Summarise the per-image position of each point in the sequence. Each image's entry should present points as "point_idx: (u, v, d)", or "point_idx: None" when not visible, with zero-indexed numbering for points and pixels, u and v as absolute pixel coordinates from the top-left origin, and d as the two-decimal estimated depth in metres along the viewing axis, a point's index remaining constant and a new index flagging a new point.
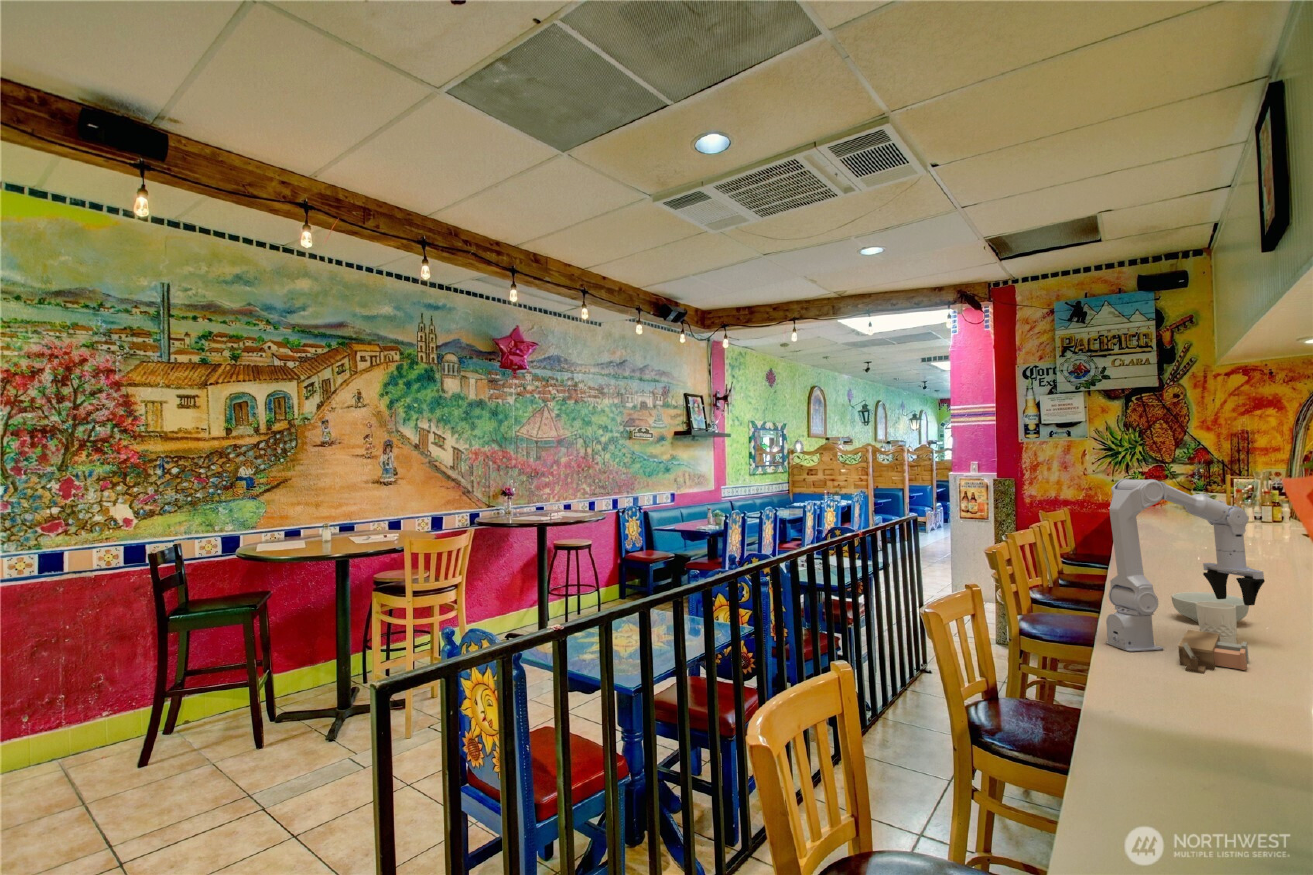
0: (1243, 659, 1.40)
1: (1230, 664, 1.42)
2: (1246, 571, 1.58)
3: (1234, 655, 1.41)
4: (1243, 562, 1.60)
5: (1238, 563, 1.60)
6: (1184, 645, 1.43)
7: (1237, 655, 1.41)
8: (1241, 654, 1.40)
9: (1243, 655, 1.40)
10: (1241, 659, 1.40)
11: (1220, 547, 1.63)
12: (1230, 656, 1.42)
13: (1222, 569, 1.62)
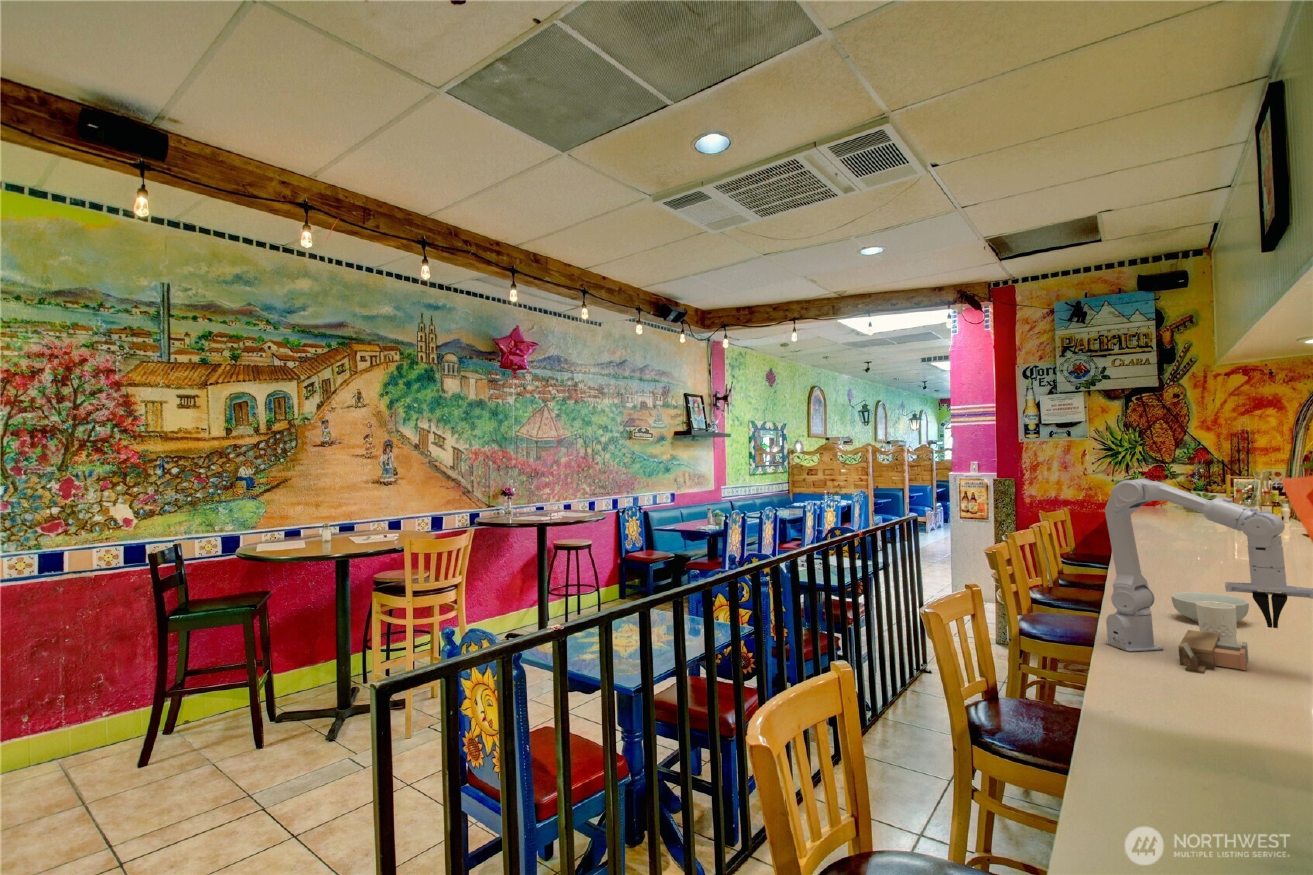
0: (1243, 659, 1.40)
1: (1230, 664, 1.42)
2: (1301, 590, 1.34)
3: (1234, 655, 1.41)
4: (1285, 579, 1.37)
5: (1285, 581, 1.36)
6: (1184, 645, 1.43)
7: (1237, 655, 1.41)
8: (1241, 654, 1.40)
9: (1243, 655, 1.40)
10: (1241, 659, 1.40)
11: None
12: (1230, 656, 1.42)
13: (1270, 590, 1.36)
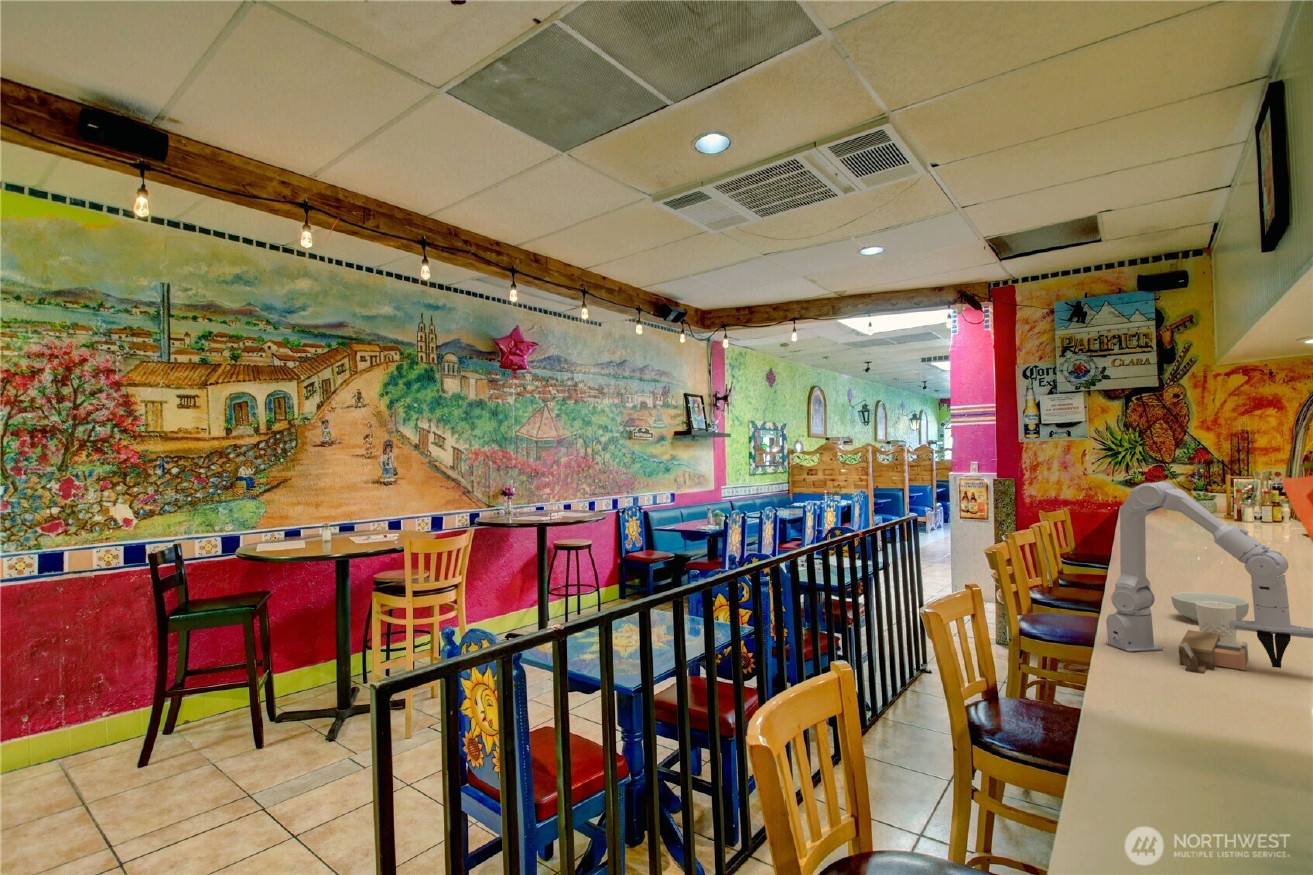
0: (1243, 659, 1.40)
1: (1230, 664, 1.42)
2: (1305, 631, 1.33)
3: (1234, 655, 1.41)
4: (1289, 618, 1.36)
5: (1289, 621, 1.36)
6: (1184, 645, 1.43)
7: (1237, 655, 1.41)
8: (1241, 654, 1.40)
9: (1243, 655, 1.40)
10: (1241, 659, 1.40)
11: None
12: (1230, 656, 1.42)
13: (1274, 630, 1.36)
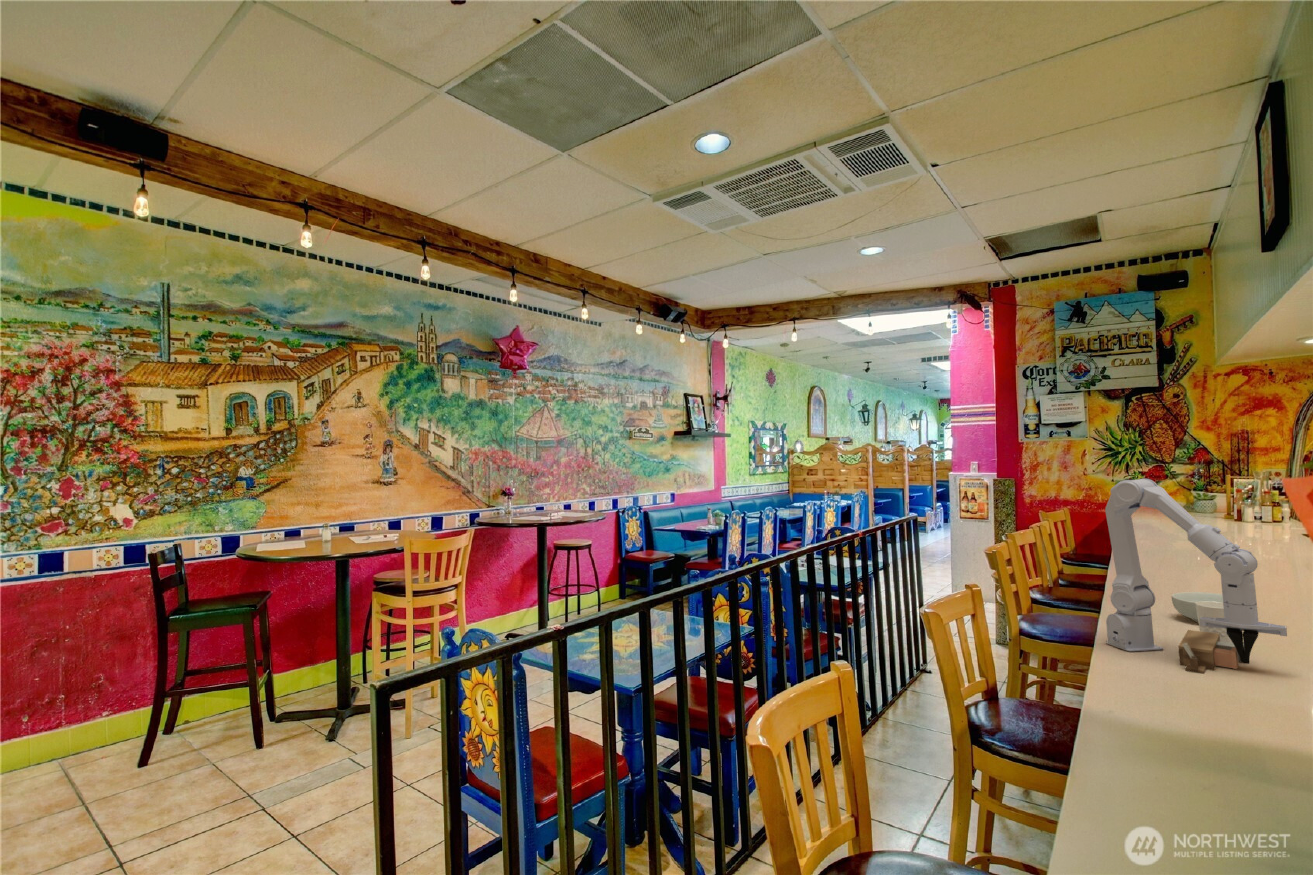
0: (1234, 658, 1.41)
1: (1221, 663, 1.43)
2: (1272, 627, 1.37)
3: (1225, 654, 1.42)
4: (1257, 615, 1.40)
5: (1257, 618, 1.39)
6: (1184, 645, 1.43)
7: (1228, 654, 1.42)
8: (1232, 653, 1.41)
9: (1234, 654, 1.41)
10: (1232, 658, 1.41)
11: None
12: (1221, 655, 1.43)
13: (1242, 626, 1.39)
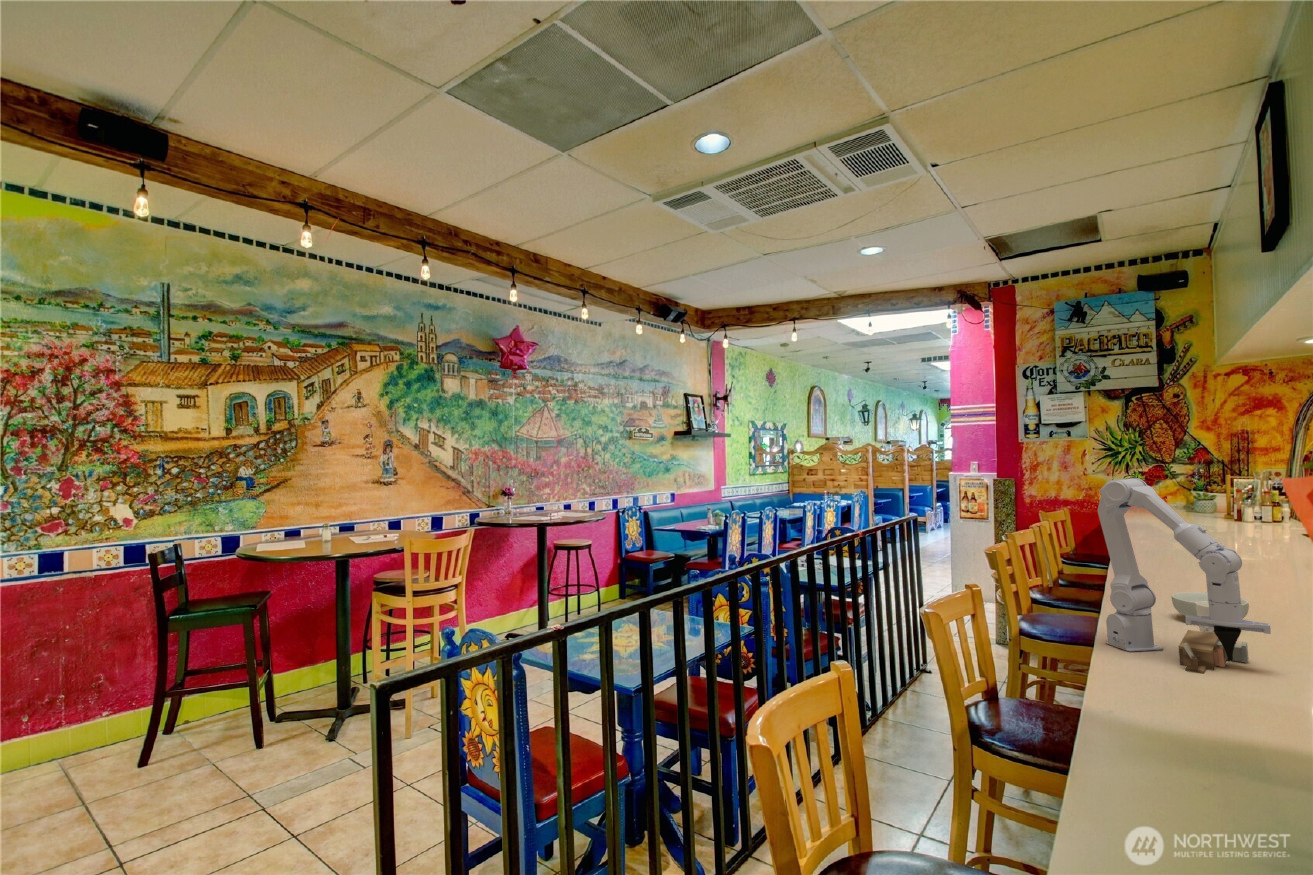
0: (1222, 656, 1.43)
1: None
2: (1256, 625, 1.39)
3: None
4: None
5: (1241, 616, 1.41)
6: (1184, 645, 1.43)
7: (1216, 652, 1.44)
8: (1220, 651, 1.43)
9: (1222, 652, 1.43)
10: (1220, 656, 1.43)
11: None
12: None
13: (1227, 624, 1.41)
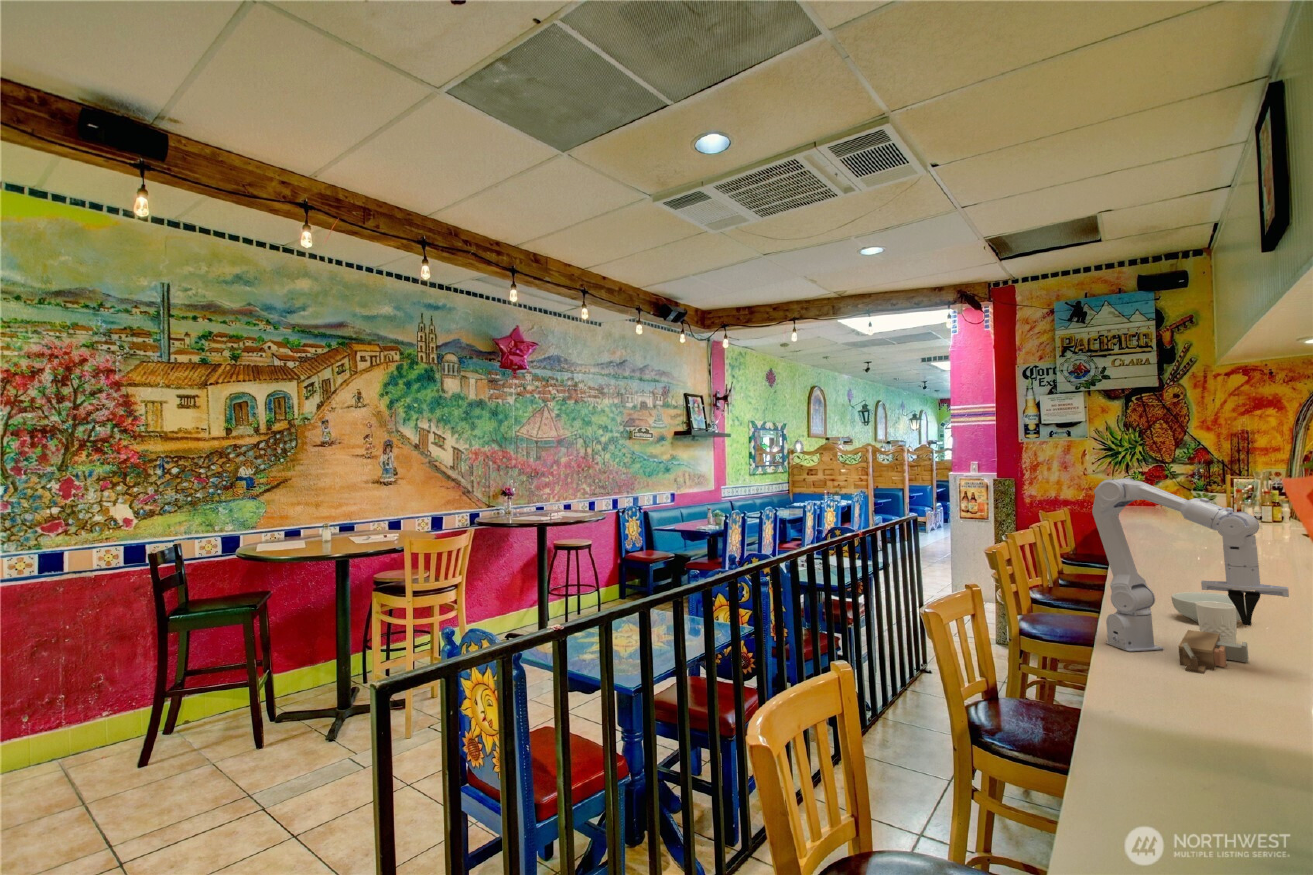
0: (1222, 656, 1.42)
1: None
2: (1274, 589, 1.37)
3: None
4: (1259, 577, 1.40)
5: (1258, 580, 1.39)
6: (1184, 645, 1.43)
7: (1216, 652, 1.44)
8: (1220, 651, 1.43)
9: (1222, 652, 1.42)
10: (1220, 656, 1.43)
11: None
12: None
13: (1244, 588, 1.39)
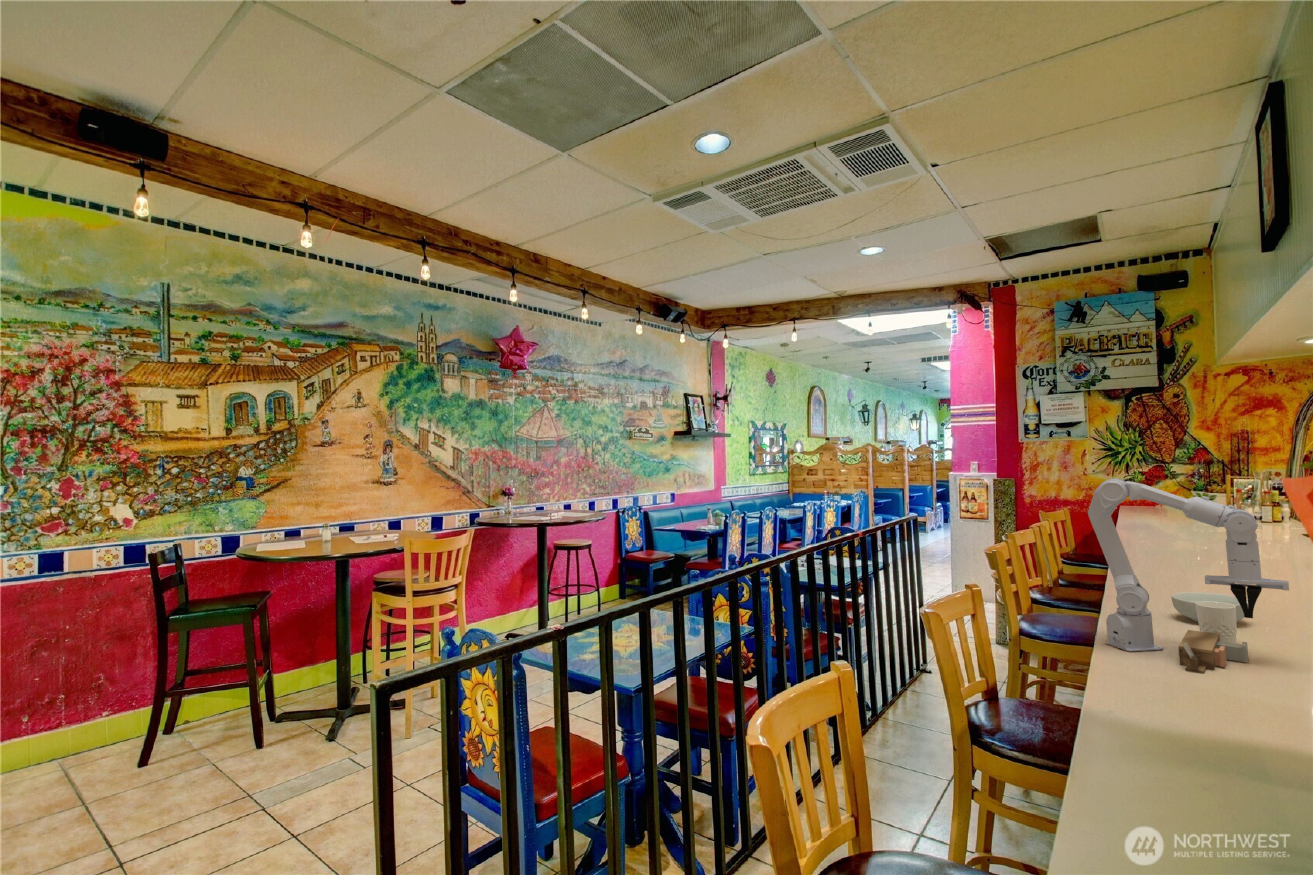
0: (1222, 656, 1.42)
1: None
2: (1274, 582, 1.42)
3: None
4: (1260, 572, 1.45)
5: (1260, 574, 1.45)
6: (1184, 645, 1.43)
7: (1216, 652, 1.44)
8: (1220, 651, 1.43)
9: (1222, 652, 1.42)
10: (1220, 656, 1.43)
11: (1227, 555, 1.49)
12: None
13: (1246, 582, 1.45)
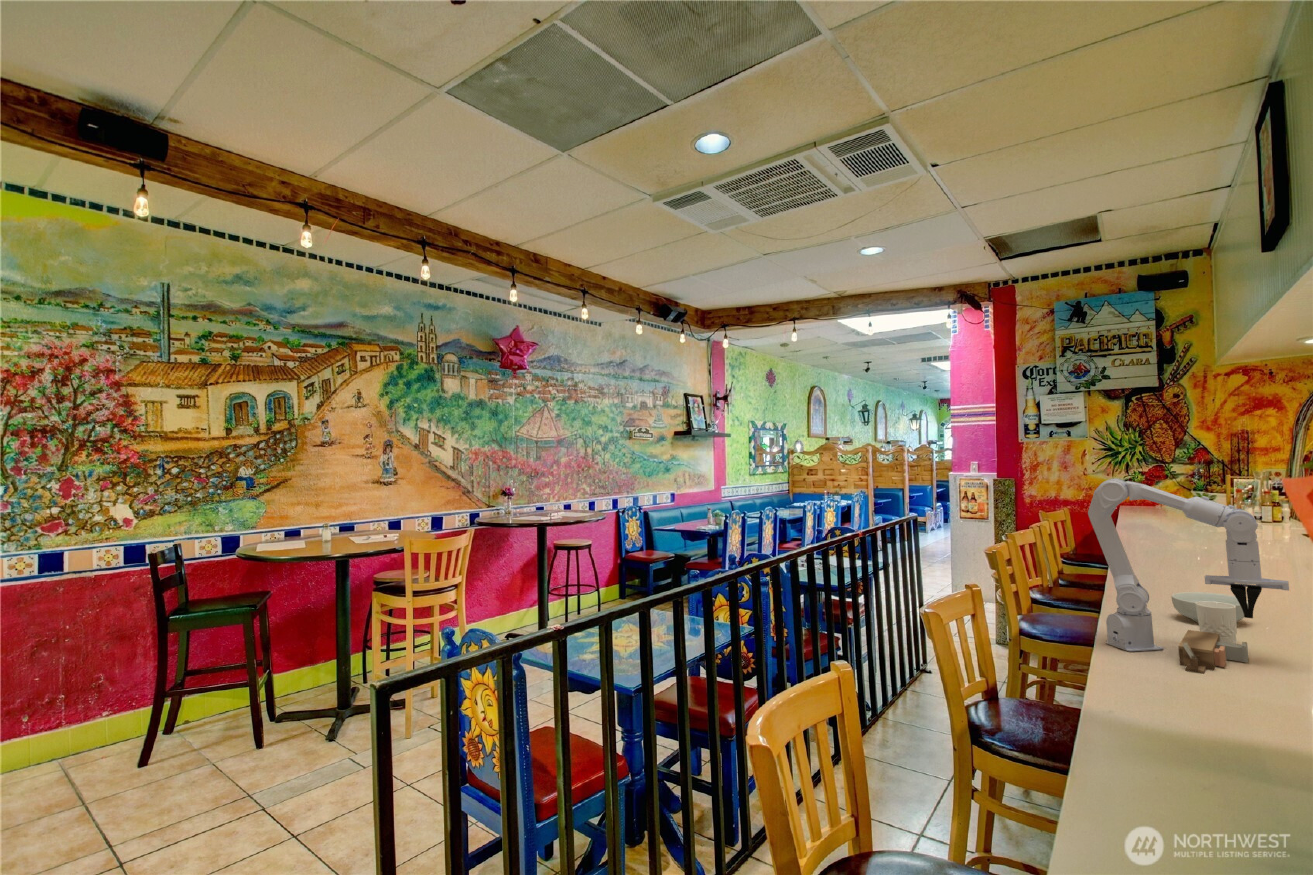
0: (1222, 656, 1.42)
1: None
2: (1274, 582, 1.42)
3: None
4: (1260, 572, 1.45)
5: (1260, 574, 1.45)
6: (1184, 645, 1.43)
7: (1216, 652, 1.44)
8: (1220, 651, 1.43)
9: (1222, 652, 1.42)
10: (1220, 656, 1.43)
11: (1227, 555, 1.49)
12: None
13: (1246, 582, 1.45)
